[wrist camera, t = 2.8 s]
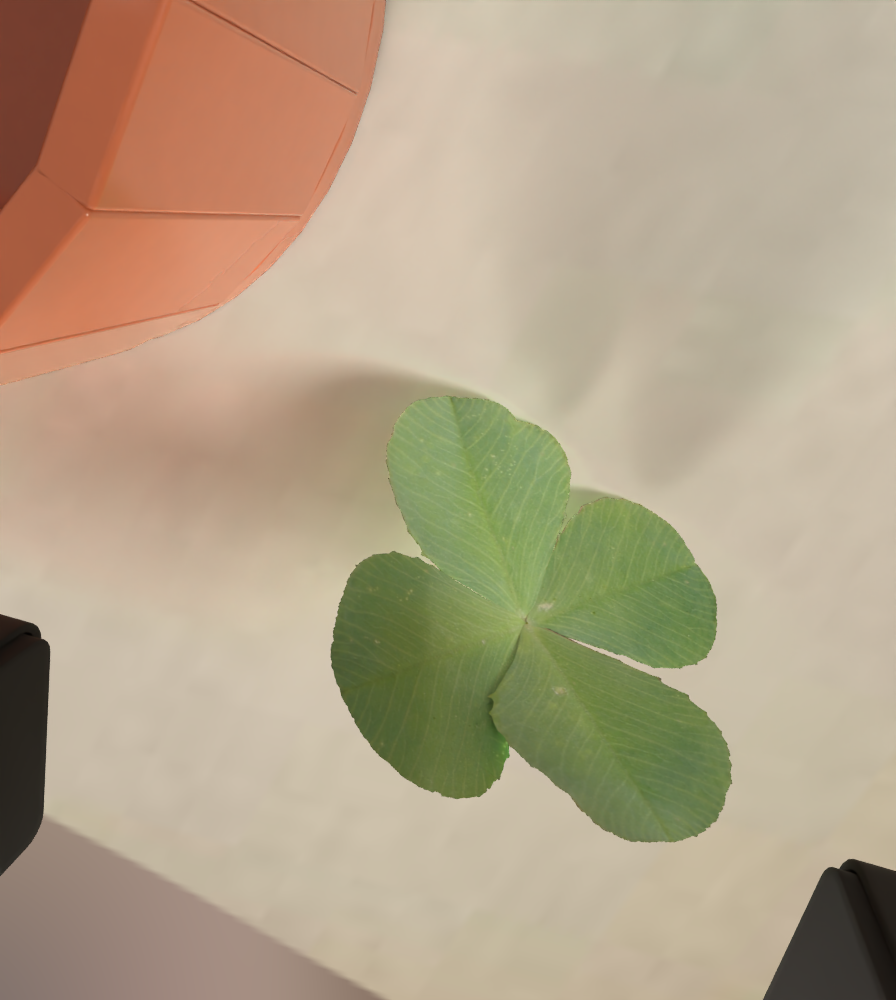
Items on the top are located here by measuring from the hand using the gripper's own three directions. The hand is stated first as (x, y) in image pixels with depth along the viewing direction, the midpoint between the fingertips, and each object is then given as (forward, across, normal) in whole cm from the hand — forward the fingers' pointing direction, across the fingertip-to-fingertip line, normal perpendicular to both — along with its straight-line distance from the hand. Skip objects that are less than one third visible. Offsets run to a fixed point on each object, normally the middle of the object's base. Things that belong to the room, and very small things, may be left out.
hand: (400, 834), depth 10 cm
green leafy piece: (+7, 0, 0) cm, 7 cm away
